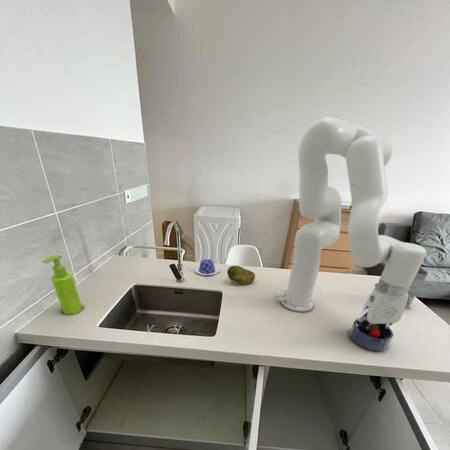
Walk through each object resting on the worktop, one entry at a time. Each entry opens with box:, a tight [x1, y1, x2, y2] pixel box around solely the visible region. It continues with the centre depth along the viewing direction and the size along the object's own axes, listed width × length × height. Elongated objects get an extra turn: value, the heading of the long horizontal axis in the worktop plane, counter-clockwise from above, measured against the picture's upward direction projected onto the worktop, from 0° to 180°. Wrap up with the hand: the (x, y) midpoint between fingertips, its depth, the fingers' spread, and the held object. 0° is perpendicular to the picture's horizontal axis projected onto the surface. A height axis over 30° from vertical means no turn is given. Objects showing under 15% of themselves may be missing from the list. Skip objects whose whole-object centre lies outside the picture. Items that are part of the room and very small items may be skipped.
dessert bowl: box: [349, 318, 394, 352], centre depth 79 cm, size 11×11×5 cm
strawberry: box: [369, 324, 380, 338], centre depth 78 cm, size 4×4×5 cm
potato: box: [226, 265, 256, 285], centre depth 108 cm, size 8×13×8 cm, turn 89°
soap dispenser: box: [41, 254, 83, 315], centre depth 81 cm, size 6×7×20 cm
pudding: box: [194, 258, 220, 276], centre depth 118 cm, size 12×12×5 cm
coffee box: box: [405, 266, 429, 309], centre depth 98 cm, size 9×6×16 cm
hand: (370, 336), depth 79 cm, fingers closed on strawberry, 4 cm apart
